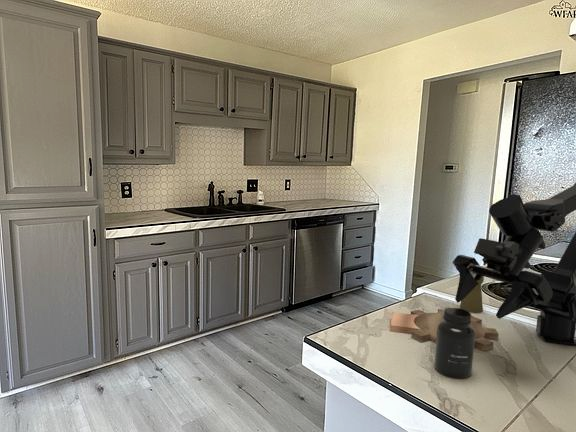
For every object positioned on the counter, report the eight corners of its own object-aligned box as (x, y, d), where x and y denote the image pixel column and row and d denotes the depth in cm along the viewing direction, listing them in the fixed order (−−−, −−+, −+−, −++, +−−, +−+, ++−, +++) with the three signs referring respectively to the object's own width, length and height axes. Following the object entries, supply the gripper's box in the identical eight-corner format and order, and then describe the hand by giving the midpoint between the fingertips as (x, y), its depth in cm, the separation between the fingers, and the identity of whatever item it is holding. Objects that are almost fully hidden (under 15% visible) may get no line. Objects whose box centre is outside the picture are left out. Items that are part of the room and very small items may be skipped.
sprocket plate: (487, 320, 98) (488, 300, 97) (508, 359, 78) (510, 334, 77) (392, 309, 105) (393, 290, 104) (389, 342, 85) (390, 319, 84)
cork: (487, 313, 102) (490, 274, 101) (465, 313, 103) (468, 274, 101) (476, 305, 108) (479, 268, 107) (455, 305, 109) (458, 268, 107)
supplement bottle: (455, 383, 69) (460, 321, 67) (426, 365, 75) (430, 308, 73) (480, 374, 72) (484, 314, 70) (450, 358, 78) (453, 303, 76)
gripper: (461, 218, 83) (421, 272, 79) (550, 232, 66) (504, 300, 62) (482, 250, 87) (445, 302, 83) (571, 270, 70) (529, 336, 67)
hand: (476, 308), depth 74 cm, fingers open, 9 cm apart
